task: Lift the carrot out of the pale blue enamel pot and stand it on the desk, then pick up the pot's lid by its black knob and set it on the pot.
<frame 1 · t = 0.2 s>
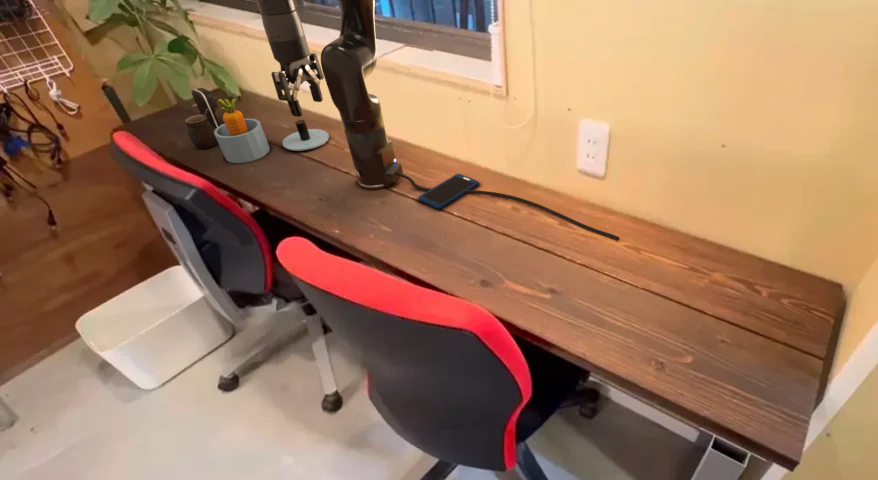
hand: (308, 108, 120), 17 cm above the table, tool pointing down, fingers open, 8 cm apart
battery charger: (217, 127, 157), on the table
carrot: (247, 152, 143), resting in pot
lid: (306, 140, 146), point 1 cm above the table
mate gourd: (208, 145, 148), on the table
cell phone: (449, 192, 122), on the table
pot: (247, 153, 143), on the table
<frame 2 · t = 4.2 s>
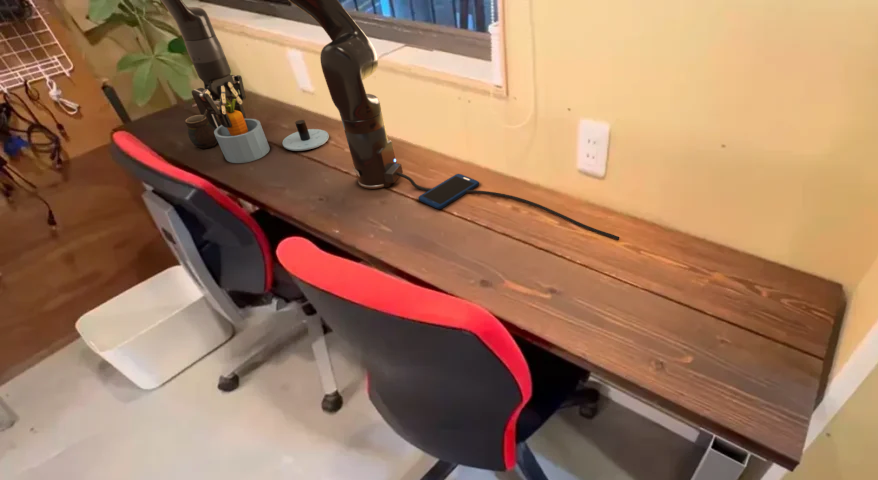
hand: (235, 122, 137), 9 cm above the table, tool pointing down, fingers closed on carrot, 5 cm apart
carrot: (247, 152, 143), resting in pot, touching gripper
everything else where it was.
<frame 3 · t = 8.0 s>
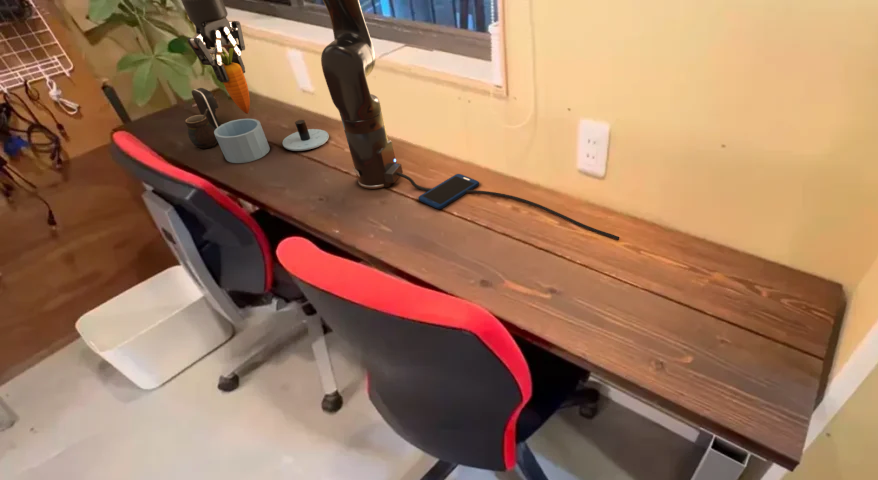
hand: (233, 77, 117), 25 cm above the table, tool pointing down, fingers closed on carrot, 5 cm apart
carrot: (247, 114, 123), point 16 cm above the table, touching gripper
everything else where it was.
when the fingers open (8 cm above the table, at t = 12.0 s): carrot stays where it is, on the table.
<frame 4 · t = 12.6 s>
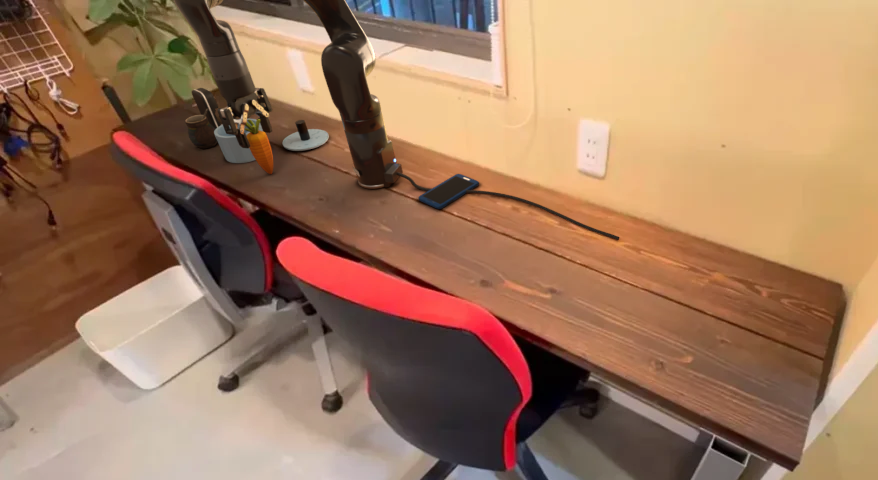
hand: (257, 139, 127), 10 cm above the table, tool pointing down, fingers open, 8 cm apart
carrot: (271, 174, 133), on the table
everything else where it was.
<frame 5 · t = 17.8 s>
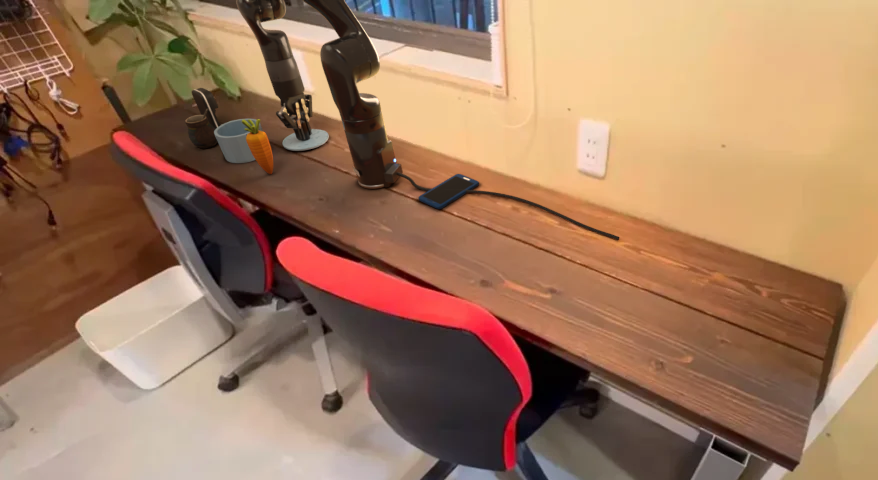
hand: (305, 137, 145), 2 cm above the table, tool pointing down, fingers closed on lid, 2 cm apart
lid: (306, 140, 146), point 1 cm above the table, touching gripper
everything else where it was.
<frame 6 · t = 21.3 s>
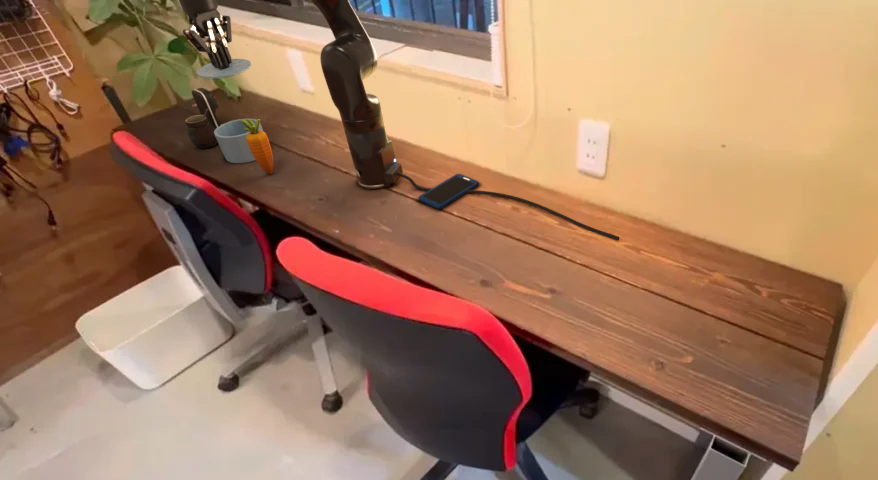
hand: (223, 65, 128), 23 cm above the table, tool pointing down, fingers closed on lid, 2 cm apart
lid: (224, 69, 129), point 22 cm above the table, touching gripper
everything else where it was.
when the fingers open (8 cm above the table, at t = 25.0 s): lid stays where it is, resting on pot.
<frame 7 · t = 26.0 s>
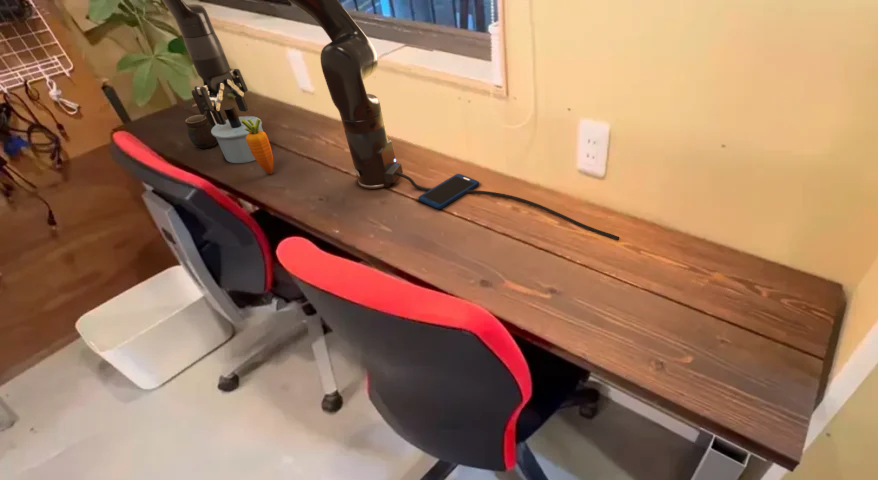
hand: (233, 117, 136), 10 cm above the table, tool pointing down, fingers open, 8 cm apart
lid: (237, 127, 138), point 7 cm above the table, touching pot
everything else where it was.
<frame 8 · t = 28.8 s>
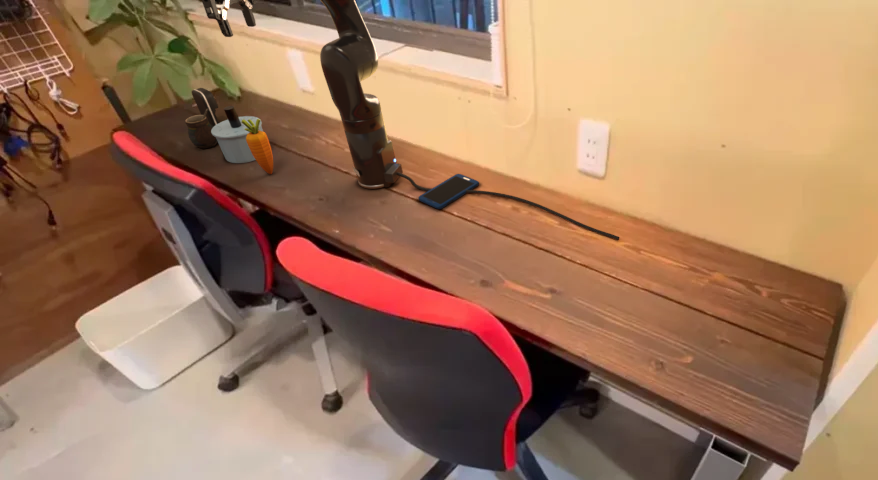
hand: (240, 31, 126), 30 cm above the table, tool pointing down, fingers open, 8 cm apart
nothing on the table moved.
at the end: carrot inside the target area (0.0 cm from its centre), on the table; lid 0.0 cm off-centre on the pot, point 7.4 cm above the pot's base; lid tilted 0° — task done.
